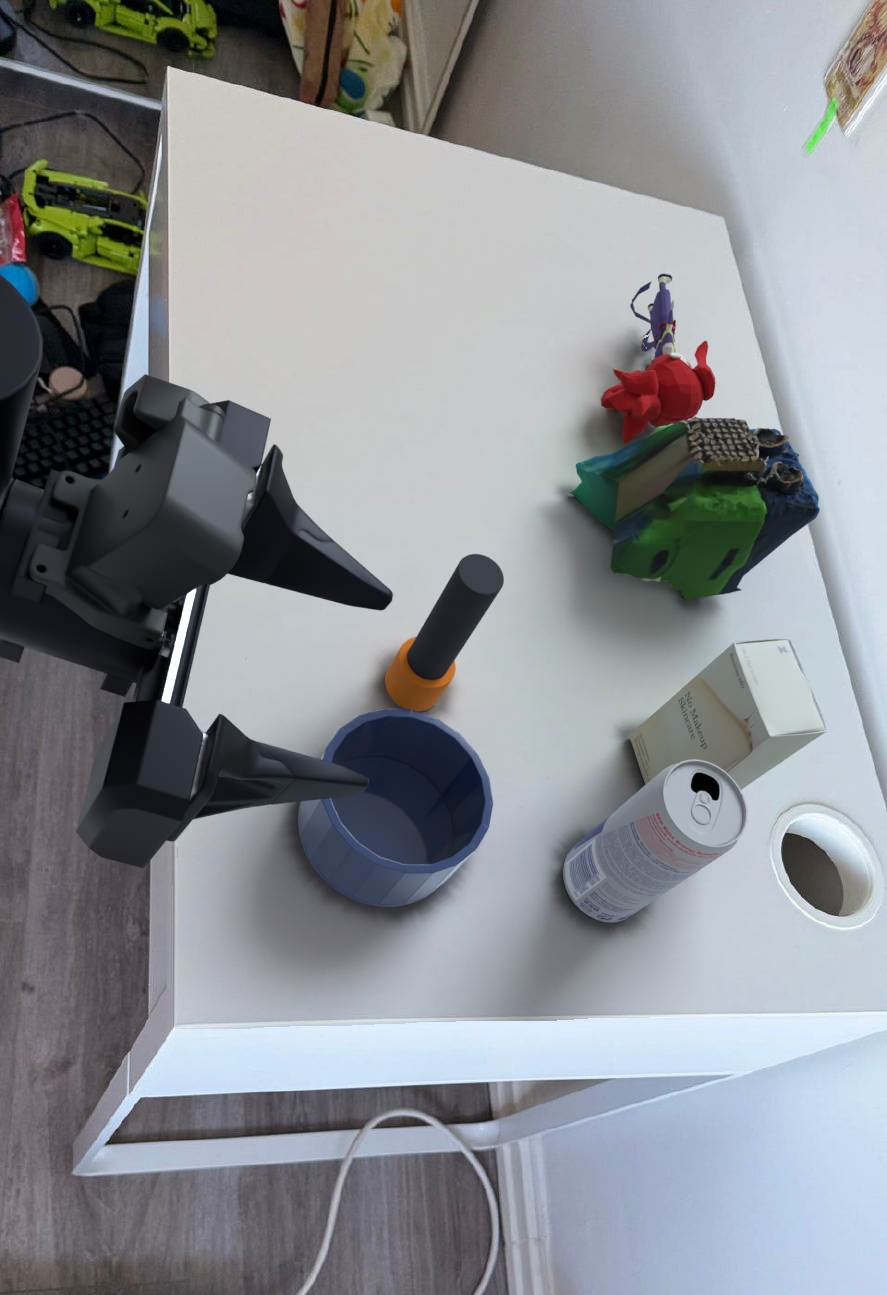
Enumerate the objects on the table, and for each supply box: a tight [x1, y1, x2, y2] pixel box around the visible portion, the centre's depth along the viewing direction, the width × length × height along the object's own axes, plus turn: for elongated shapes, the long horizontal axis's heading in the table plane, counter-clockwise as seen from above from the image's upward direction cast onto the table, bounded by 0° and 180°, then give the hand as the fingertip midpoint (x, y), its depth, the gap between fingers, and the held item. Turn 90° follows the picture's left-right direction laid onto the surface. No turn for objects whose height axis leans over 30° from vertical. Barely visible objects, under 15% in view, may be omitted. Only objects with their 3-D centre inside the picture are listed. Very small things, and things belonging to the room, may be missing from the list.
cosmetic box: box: [629, 637, 828, 791], centre depth 66 cm, size 6×4×12 cm
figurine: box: [600, 273, 716, 444], centre depth 84 cm, size 6×8×15 cm
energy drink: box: [562, 759, 748, 923], centre depth 61 cm, size 5×5×12 cm
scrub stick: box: [384, 553, 505, 712], centre depth 63 cm, size 4×4×12 cm
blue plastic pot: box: [297, 708, 494, 908], centre depth 61 cm, size 10×10×6 cm
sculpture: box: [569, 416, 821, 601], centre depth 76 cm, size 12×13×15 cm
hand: (377, 690), depth 46 cm, fingers open, 9 cm apart
